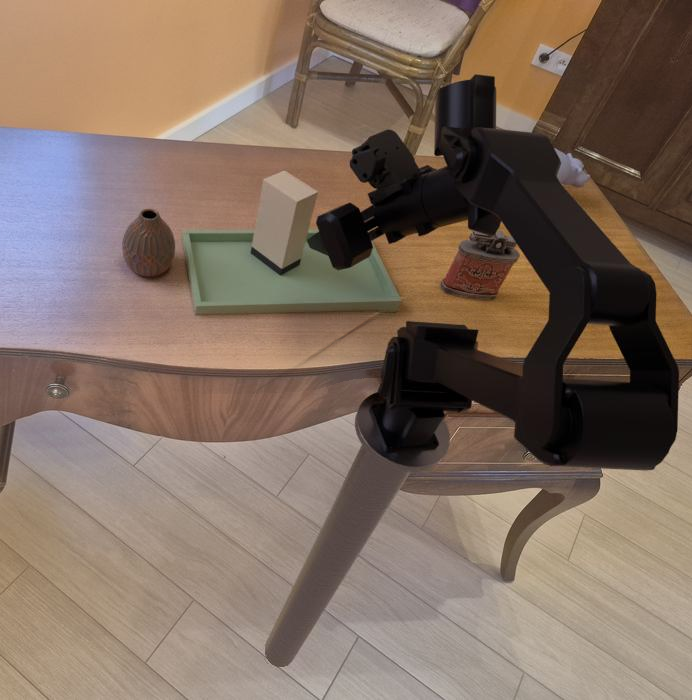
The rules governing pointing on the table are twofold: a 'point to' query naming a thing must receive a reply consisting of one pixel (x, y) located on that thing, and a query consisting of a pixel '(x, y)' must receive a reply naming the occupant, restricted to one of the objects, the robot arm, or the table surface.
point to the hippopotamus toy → (571, 170)
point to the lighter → (480, 266)
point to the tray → (279, 279)
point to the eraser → (282, 221)
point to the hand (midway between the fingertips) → (334, 230)
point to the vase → (148, 244)
